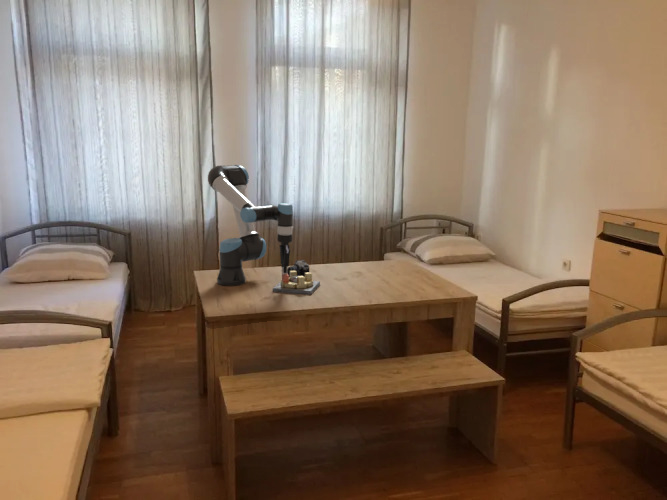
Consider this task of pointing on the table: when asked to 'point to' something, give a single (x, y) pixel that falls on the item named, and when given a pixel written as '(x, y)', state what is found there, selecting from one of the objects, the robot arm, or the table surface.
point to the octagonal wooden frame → (301, 280)
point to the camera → (299, 268)
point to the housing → (296, 290)
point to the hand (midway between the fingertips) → (284, 278)
